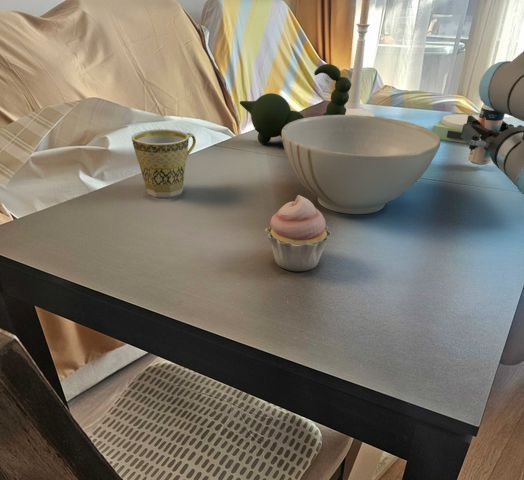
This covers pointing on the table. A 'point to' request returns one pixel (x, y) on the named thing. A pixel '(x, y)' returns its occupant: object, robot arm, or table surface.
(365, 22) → the candlestick
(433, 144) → the decorative bowl
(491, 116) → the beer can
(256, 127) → the toy figurine
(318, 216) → the cupcake
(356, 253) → the table surface
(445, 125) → the kitchen scale
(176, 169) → the ceramic cup
